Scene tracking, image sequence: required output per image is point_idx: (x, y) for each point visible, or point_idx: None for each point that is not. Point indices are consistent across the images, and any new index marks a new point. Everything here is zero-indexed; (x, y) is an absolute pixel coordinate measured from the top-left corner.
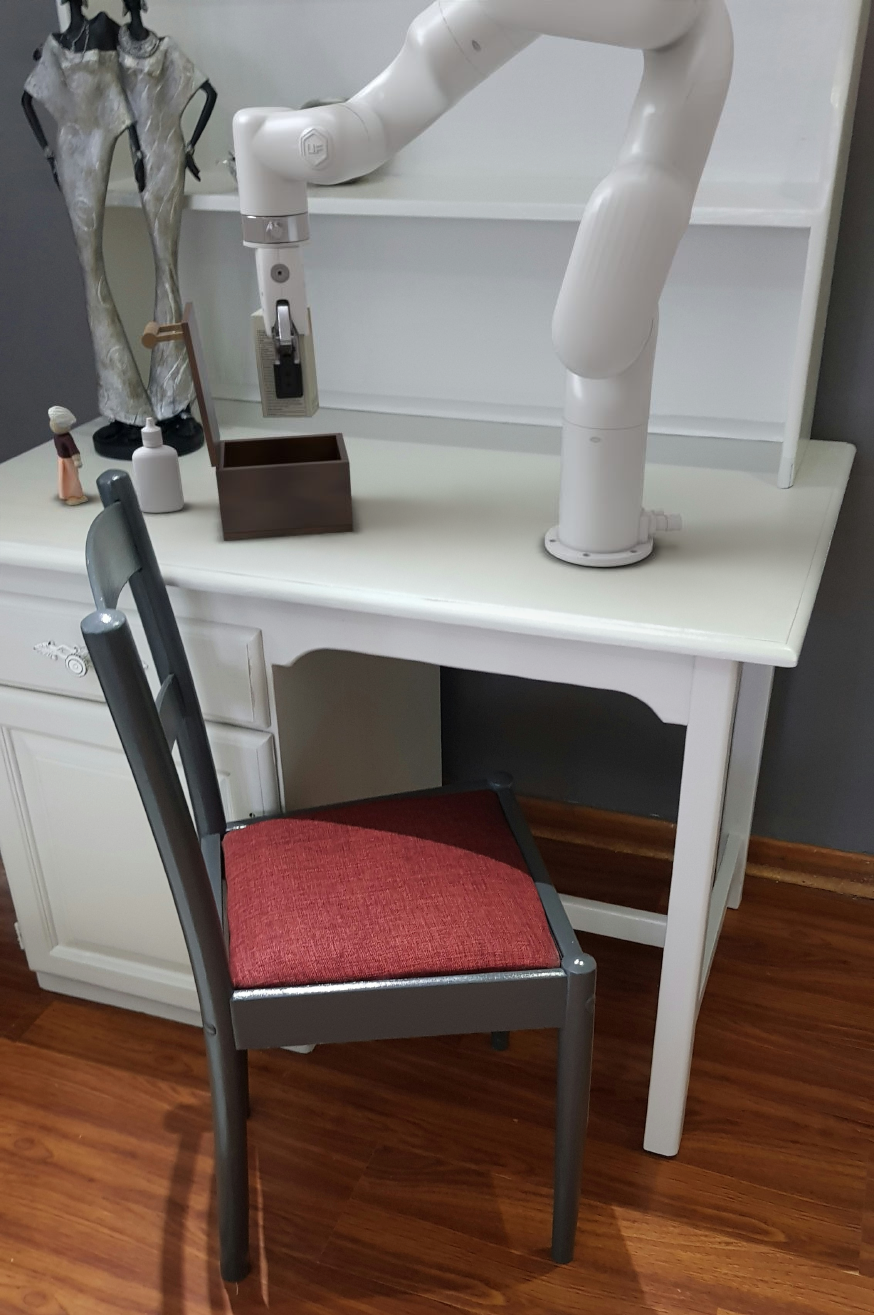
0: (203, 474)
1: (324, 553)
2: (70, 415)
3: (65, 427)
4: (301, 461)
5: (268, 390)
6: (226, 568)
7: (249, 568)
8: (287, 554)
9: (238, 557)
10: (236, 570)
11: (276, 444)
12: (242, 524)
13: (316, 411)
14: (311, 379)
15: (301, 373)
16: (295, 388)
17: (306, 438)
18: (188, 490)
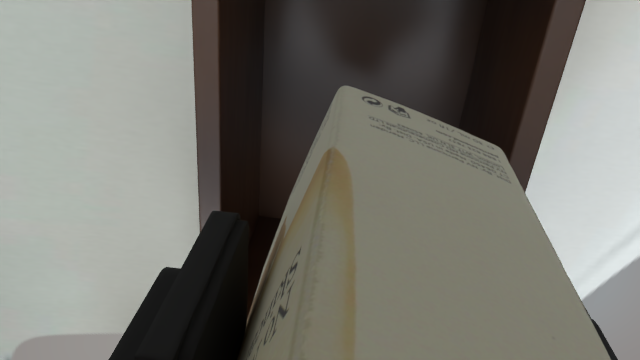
0: (37, 237)
1: (623, 50)
2: None
3: None
4: (240, 78)
5: None
6: (589, 251)
7: (614, 214)
8: (582, 133)
9: (545, 226)
10: (610, 236)
11: (226, 172)
12: None
13: (417, 112)
14: (492, 227)
15: (607, 351)
16: (596, 325)
17: (222, 78)
18: (135, 271)
